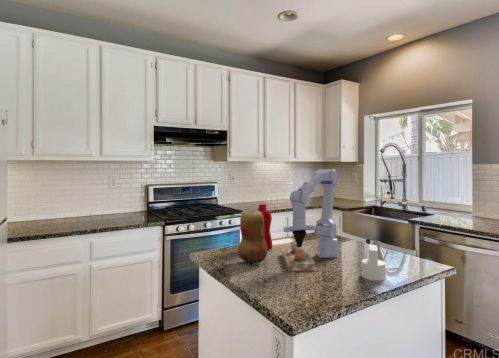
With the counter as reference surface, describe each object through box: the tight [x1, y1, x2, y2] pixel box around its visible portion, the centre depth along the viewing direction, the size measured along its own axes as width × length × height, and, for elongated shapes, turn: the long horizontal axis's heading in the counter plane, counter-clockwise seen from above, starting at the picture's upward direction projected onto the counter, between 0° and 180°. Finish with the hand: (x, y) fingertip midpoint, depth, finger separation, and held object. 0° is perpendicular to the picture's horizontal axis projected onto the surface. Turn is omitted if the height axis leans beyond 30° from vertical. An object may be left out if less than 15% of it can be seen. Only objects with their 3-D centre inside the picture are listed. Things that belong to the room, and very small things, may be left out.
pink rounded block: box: [295, 247, 305, 261], centre depth 138 cm, size 4×4×4 cm
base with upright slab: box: [361, 244, 386, 282], centre depth 124 cm, size 9×9×12 cm
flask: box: [372, 240, 386, 263], centre depth 142 cm, size 7×7×10 cm
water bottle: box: [256, 203, 273, 251], centre depth 168 cm, size 9×11×25 cm
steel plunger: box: [290, 241, 300, 253], centre depth 150 cm, size 4×4×4 cm
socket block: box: [281, 248, 316, 272], centre depth 144 cm, size 12×24×3 cm, turn 0°
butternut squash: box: [238, 209, 269, 265], centre depth 143 cm, size 14×13×25 cm
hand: (299, 246), depth 138 cm, fingers closed
